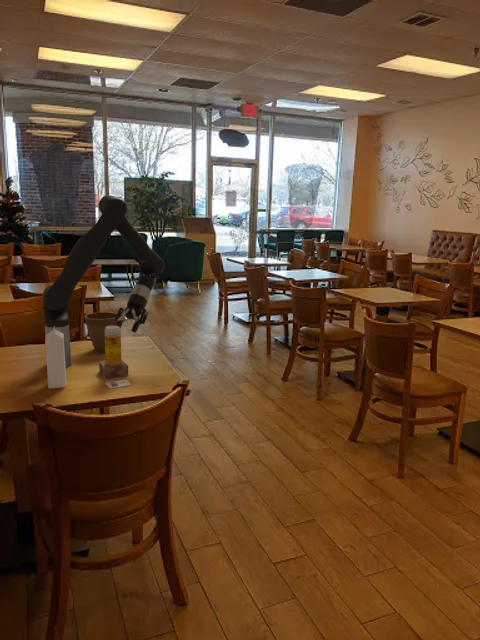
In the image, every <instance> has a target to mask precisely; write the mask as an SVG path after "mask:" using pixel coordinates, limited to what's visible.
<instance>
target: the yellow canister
mask: <svg viewBox="0 0 480 640" xmlns="http://www.w3.org/2000/svg"><path fill="white" fill-rule="evenodd" d="M121 331H122V329H120V327H119V326H114V325H113V326H107V327H106V328H105V352H104V354H105V361H106V363H107V365H109V366H117V365H119V364H120V363H121V362H122V360H123V359H122V336H121V335H122V332H121Z"/></svg>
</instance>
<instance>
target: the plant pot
mask: <svg viewBox="0 0 480 640" xmlns="http://www.w3.org/2000/svg"><path fill="white" fill-rule="evenodd" d="M116 315H117V312H109V311H102V312H100V311H98V312H91V313H87V314H85V315H84V320H85V325H86V329H87V332H88V335H89V338H90V342H91V343H92V346H93V349H94V351H96V352H102V353H103V352H104V353H105V328H106V327H107V326H113V325H114V326H116V324H117V321H116V320H115V317H116ZM118 318H119V317H118Z"/></svg>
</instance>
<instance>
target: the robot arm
mask: <svg viewBox="0 0 480 640" xmlns="http://www.w3.org/2000/svg"><path fill="white" fill-rule="evenodd" d="M98 210H99V213H100V216H99V218H98V219H97V221H96V222H95V224H94V225H93V226H92V227H91V228H90V229H89V230H87V231H86V232H85V233H84V234H83V235H82V236H81V237H80V238H79V239H78V240H77V242H76V243H75V244H74V245H73V247H72V249H71V251H70V252H69V254H68V256H67V258H66V261H65V263H64V265H63V267H62V270H61V272H60V273H59V275H58V277H57V279H56V280H55V281H54V283H53V284H50V285H48V286H47V287H45V288H44V291H43V292H42V304H43V306H42V307H43V318H44V332H45V336H46V334H48V333H50V332H51V331H53V329H54V326H55V330H57V331H59V332H61V333H63V334H64V350H65V368H67V367H70V366H71V365H72V354H71V353H72V352H71V351H72V350H71V336H70V334H71V333H70V319H69V308H68V307H69V306H68V303H69V300H70V299H71V296H72V294H73V292H74V290H75V289H76V287H77V285H78V284H79V282H80V281H81V279H82V278H83V277H84V275H85V274H86V273H87V272H88V270H89V269H90V267H91V266H92V265H93V263H94V261H95V260H96V258H97V257H98V255H99V254H100V252H101V250H102V249H103V247H104V246H105V244H106V242H107V240H108V239H109V238H110V236H111V235H112V233H113V232H114V231H115V230H117V232H118V233H119V234H120V235H121V238H123V240H124V241H125V244H127V246H128V247H129V249H130V250H131V251H132V253H133V254H134V256H135V257H136V258H137V259H138V260H142V262H140V266H139V272H138V279H137V281H136V282H135V286H134V287H133V289H132V291H131V294H130V296H129V297H128V300H127V303H126V307H125V308H123V307H121V306H120V307H119V309H118V311H117V312H116V314H117V315H116V317H115V320H116V321H117V324H116V326H119V327H120V329H121V328H122V326H123V324H124V323H125V322H127V321H129V320H134V323H133V325H132V326H131V332H132V333H133V334H134V333H137V332H138V329H139V327H140V325H144V324H146V321H147V317H148V315H149V311H148V310H147V309H146V306H147V304H148V301H149V299H150V297H151V293H152V290H153V289H154V285H155V278H153V276H152V275H158V274H159V275H160V274H162V273H164V271H165V270H166V269H165V268H166V266H165V262H164V260H163V258H162V257H161V256H160V255H159V254H158V253H156V252H155V250H153V249H152V248H151V247H150V245H149V244H148V242H146V240H145V238H144V237H143V236H142V235H141V233H140V232H139V231H138V230H137V229H136V228H135V226H133V224H132V223H131V222H130V220H129V219H128V217H126V215H127V213H128V212H127V211H128V207H127V204H126V201H124V200H123V199H121V198H119V197H117V196H114V195H111V194H110V195H109V194H108V195H107V194H106V195H104V196H102V197H101V198H100V200H99V201H98ZM118 317H119V318H118ZM121 330H122V329H121ZM44 347H45V348H44V349H45V351H46V343H45V342H44ZM45 361H46V363H45V364H46V365H47V358H46V357H45Z"/></svg>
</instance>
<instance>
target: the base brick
mask: <svg viewBox="0 0 480 640" xmlns="http://www.w3.org/2000/svg"><path fill="white" fill-rule="evenodd" d="M121 360H122V362H121V363H120V364H119V365H117V366H109V365H107V363H106V360H105V361H99V362H98V369H99V371H98V372H99V373H100V374H101V376H102V377H103V378H104V379H105V380H108V379H115V378H120V377H126V376H129V365H128V364H127V363H126V362H125V361H124V360H123V359H121Z"/></svg>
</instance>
